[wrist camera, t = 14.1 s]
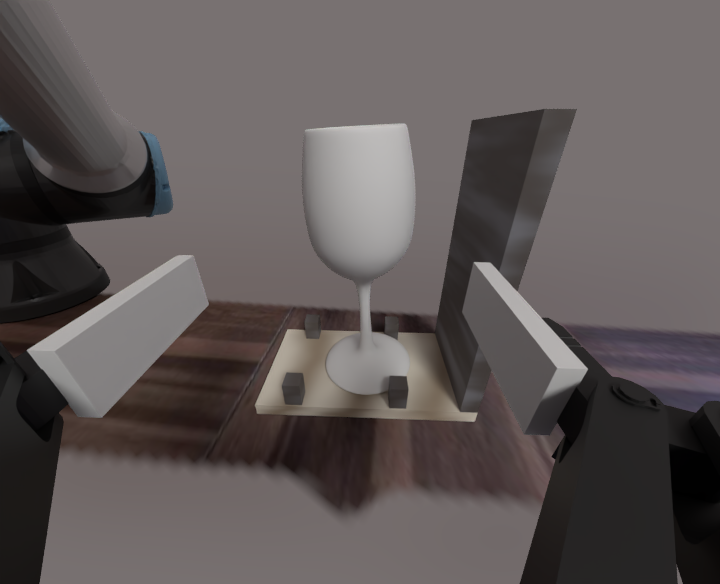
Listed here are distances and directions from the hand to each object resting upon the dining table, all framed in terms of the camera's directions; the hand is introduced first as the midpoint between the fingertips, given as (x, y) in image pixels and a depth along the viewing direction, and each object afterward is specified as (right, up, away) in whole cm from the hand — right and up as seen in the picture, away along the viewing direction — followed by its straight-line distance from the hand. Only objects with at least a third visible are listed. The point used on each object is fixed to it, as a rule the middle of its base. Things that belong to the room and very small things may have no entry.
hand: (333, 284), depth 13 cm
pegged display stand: (+2, -9, +16) cm, 19 cm away
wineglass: (+2, -8, +16) cm, 17 cm away
